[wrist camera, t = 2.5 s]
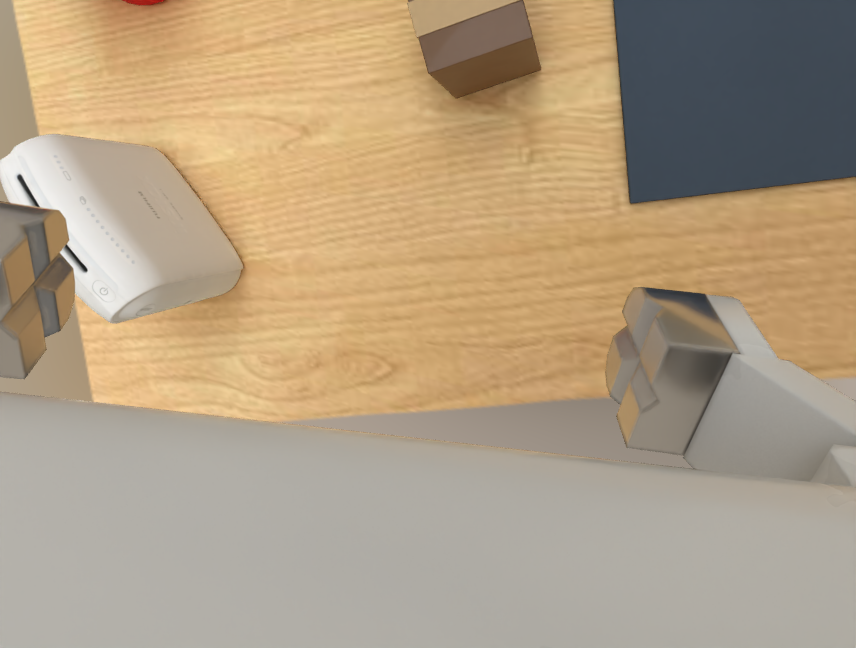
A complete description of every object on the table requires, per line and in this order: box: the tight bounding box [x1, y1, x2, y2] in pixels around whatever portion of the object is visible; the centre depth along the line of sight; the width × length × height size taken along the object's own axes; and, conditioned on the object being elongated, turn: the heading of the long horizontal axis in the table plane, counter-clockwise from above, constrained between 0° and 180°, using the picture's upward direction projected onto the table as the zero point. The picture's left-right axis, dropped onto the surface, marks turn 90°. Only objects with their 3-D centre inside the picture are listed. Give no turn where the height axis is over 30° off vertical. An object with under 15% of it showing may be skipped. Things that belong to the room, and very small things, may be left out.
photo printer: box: [0, 134, 243, 323], centre depth 40 cm, size 10×4×12 cm, turn 37°
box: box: [407, 0, 541, 98], centre depth 37 cm, size 5×5×8 cm
